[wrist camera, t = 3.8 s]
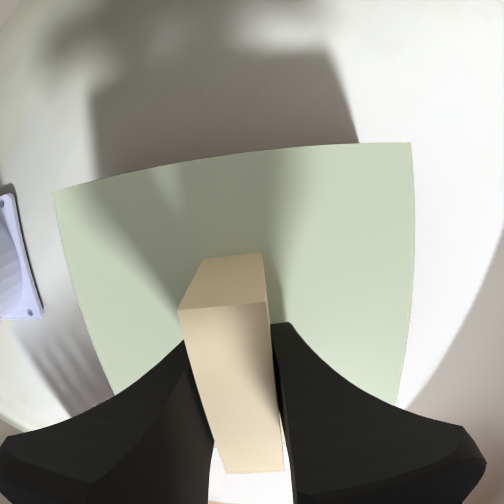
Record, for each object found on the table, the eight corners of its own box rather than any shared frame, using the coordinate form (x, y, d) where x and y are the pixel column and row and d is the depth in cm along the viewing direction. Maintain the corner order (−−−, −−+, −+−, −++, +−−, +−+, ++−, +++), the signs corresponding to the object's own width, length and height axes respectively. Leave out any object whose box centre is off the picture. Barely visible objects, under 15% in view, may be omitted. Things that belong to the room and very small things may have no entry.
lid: (149, 420, 14) (121, 498, 9) (77, 187, 11) (-19, 208, 5) (379, 400, 13) (414, 478, 8) (388, 144, 10) (479, 138, 5)
